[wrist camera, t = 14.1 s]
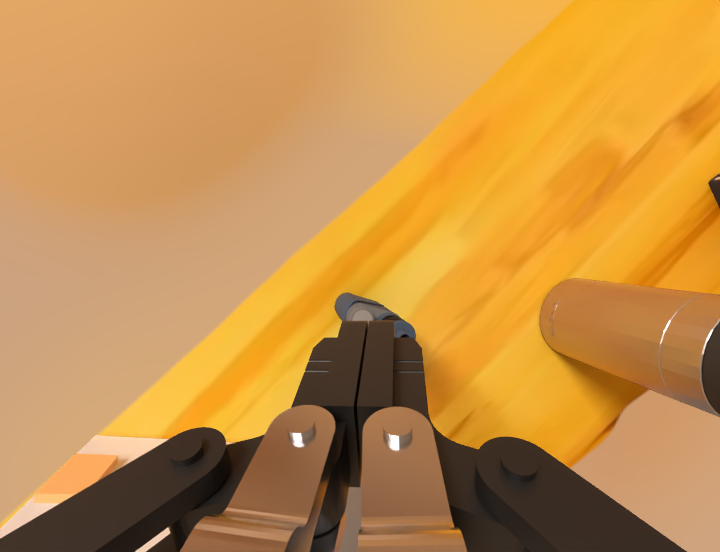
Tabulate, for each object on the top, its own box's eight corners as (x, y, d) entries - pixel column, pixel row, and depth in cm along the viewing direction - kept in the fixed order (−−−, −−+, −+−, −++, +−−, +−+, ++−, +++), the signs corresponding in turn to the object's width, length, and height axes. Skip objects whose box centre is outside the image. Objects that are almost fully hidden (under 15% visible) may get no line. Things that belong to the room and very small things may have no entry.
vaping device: (377, 326, 39) (414, 360, 28) (330, 312, 38) (348, 342, 27) (384, 303, 39) (425, 327, 28) (338, 288, 38) (359, 308, 27)
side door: (274, 457, 38) (267, 570, 25) (94, 448, 35) (-27, 574, 21) (277, 438, 38) (271, 542, 25) (96, 428, 35) (-23, 541, 21)
